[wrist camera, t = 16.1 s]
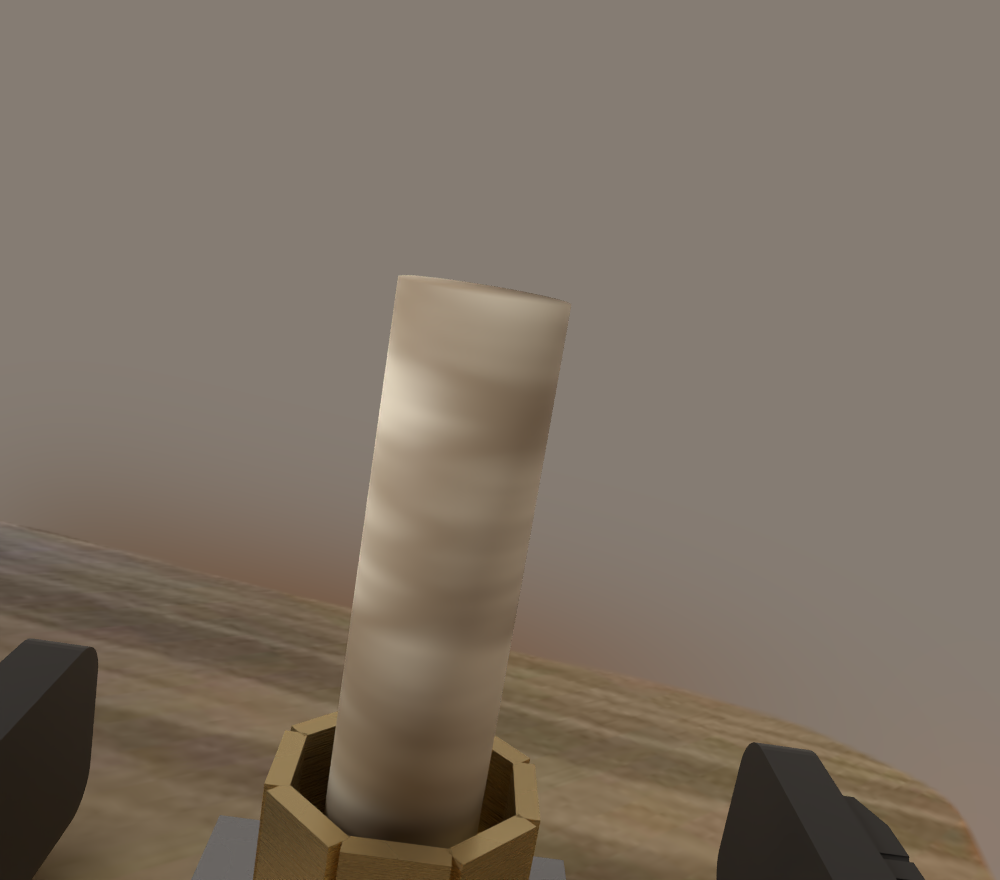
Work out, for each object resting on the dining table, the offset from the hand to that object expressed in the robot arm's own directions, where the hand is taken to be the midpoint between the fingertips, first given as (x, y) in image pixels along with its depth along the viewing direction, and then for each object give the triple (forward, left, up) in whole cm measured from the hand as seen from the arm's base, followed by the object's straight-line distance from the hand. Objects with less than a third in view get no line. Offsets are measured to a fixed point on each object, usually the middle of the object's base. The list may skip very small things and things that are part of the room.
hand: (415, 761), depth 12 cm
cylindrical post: (-6, +10, -11) cm, 16 cm away
